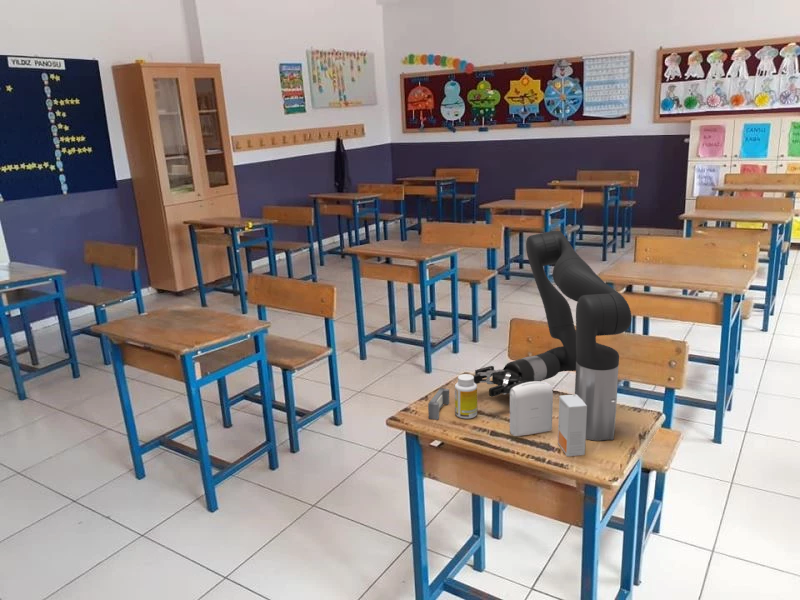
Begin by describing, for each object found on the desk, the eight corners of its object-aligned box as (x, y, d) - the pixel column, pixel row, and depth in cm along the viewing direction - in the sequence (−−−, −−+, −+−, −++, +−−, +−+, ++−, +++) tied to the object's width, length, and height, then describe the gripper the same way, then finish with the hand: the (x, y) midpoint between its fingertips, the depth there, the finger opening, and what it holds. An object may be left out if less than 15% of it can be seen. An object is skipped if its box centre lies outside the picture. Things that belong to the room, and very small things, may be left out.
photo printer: (513, 438, 145) (514, 389, 142) (506, 430, 149) (507, 381, 146) (554, 432, 147) (556, 383, 144) (546, 424, 152) (548, 376, 148)
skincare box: (556, 443, 142) (558, 395, 139) (575, 442, 143) (577, 393, 139) (566, 457, 136) (568, 406, 133) (585, 455, 137) (588, 405, 134)
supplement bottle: (481, 414, 157) (481, 377, 155) (466, 421, 154) (465, 383, 151) (466, 407, 162) (465, 370, 159) (450, 414, 158) (449, 376, 155)
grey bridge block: (449, 403, 165) (449, 389, 163) (437, 419, 156) (437, 404, 154) (440, 402, 165) (440, 388, 164) (428, 418, 156) (428, 403, 155)
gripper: (507, 351, 172) (460, 365, 164) (545, 367, 161) (498, 382, 152) (506, 377, 174) (461, 391, 166) (544, 394, 163) (497, 410, 154)
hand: (478, 387), depth 159 cm, fingers open, 8 cm apart
